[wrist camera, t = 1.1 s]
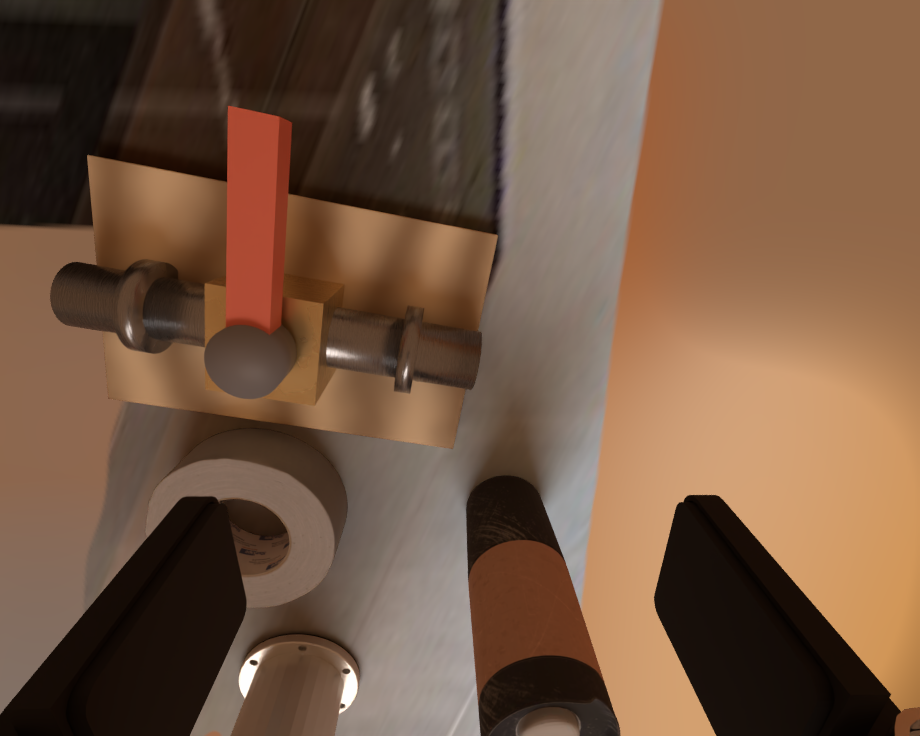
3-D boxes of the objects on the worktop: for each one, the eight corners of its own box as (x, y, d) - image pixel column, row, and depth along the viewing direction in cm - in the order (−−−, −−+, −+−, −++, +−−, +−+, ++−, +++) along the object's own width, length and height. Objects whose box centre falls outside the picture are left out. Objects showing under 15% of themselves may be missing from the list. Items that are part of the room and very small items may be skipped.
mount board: (496, 234, 34) (498, 235, 33) (452, 442, 40) (453, 448, 39) (97, 156, 31) (87, 155, 30) (116, 393, 37) (108, 398, 36)
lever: (294, 386, 29) (281, 404, 27) (224, 376, 29) (204, 392, 27) (312, 127, 24) (298, 119, 22) (226, 109, 24) (202, 99, 21)
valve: (481, 305, 36) (491, 332, 29) (464, 386, 38) (469, 429, 31) (104, 238, 33) (13, 250, 26) (111, 329, 36) (30, 363, 29)
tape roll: (150, 522, 42) (114, 563, 38) (218, 395, 38) (186, 424, 33) (301, 588, 46) (285, 633, 41) (378, 478, 42) (370, 515, 37)
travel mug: (460, 538, 44) (475, 792, 25) (465, 471, 41) (485, 699, 23) (539, 540, 44) (609, 791, 26) (549, 473, 42) (636, 699, 23)
